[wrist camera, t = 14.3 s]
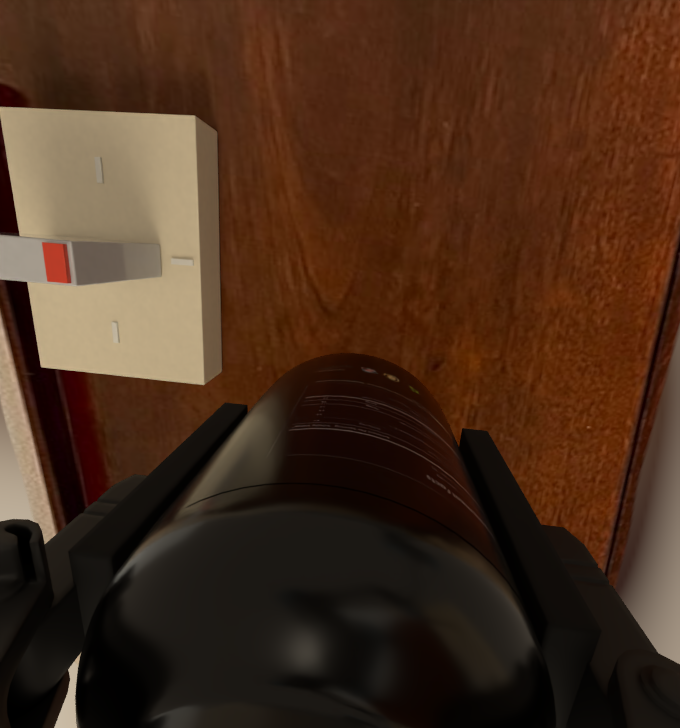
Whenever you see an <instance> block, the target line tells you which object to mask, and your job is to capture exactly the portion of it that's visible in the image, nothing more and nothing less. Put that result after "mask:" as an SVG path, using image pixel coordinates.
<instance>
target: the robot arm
mask: <svg viewBox="0 0 680 728" xmlns="http://www.w3.org/2000/svg"><path fill="white" fill-rule="evenodd" d="M246 415H247V405H241V404H232V403H224V404H223V405H222V406H221V407H220V408H219V409H218V410H217V411H216V412H215V413H214V414H213V415H212V416H211V417H210V418H208V419H207V420H206V421H205V422H204V423H203V424H202V425H201V426H200V427H199V428H198V429H197V430H196V431H195V432H194V433H193V434H192V435H190V436H189V437H188V438H187V439H186V440H185V441H184V442H183V443H182V444H181V445H180V446H179V447H178V448H177V449H176V450H175V451H174V452H172V453H171V454H170V455H169V456H168V457H167V458H166V459H165V460H164V461H163V462H162V463H161V464H160V465H159V466H158V467H157V468H156V469H155V470H153V471H152V472H151V473H150V474H149V475H148V476H144V475H136V474H135V475H133V476H131V477H129V478H127V479H125V480H123V481H121V482H119V483H117V484H115V485H113V486H112V487H111V488H110V489H109V490H108V491H106V492H105V493H104V494H103V495H102V496H101V497H99V498H98V501H97V502H94V503H92V504H91V505H90V506H89V507H88V508H87V509H85V510H84V513H83V514H80V515H79V516H77V517H76V518H75V519H74V520H73V521H72V522H70V523H69V524H68V525H67V526H66V527H65V528H63V529H62V530H61V531H60V532H59V533H58V534H56V535H55V536H54V537H53V538H52V539H51V540H49V541H48V542H47V543H46V544H45V545H44V540H43V534H42V531H41V528H40V526H39V524H38V523H35V522H33V521H30V520H21V519H12V520H6V521H1V522H0V728H54V726H55V724H56V721H57V718H58V716H59V713H60V711H61V708H62V705H63V703H64V700H65V698H66V695H67V692H68V687H69V681H70V677H69V672H68V669H69V667H70V666H71V665H72V663H73V662H74V661H75V659H76V658H77V657H78V655H79V654H80V653H81V651H82V648H83V644H84V640H85V636H86V632H87V629H88V626H89V623H90V621H91V618H92V616H93V613H94V611H95V608H96V606H97V604H98V602H99V600H100V598H101V596H102V594H103V593H104V591H105V589H106V587H107V586H108V584H109V582H110V581H111V580H112V578H113V577H114V575H115V574H116V573H117V571H118V570H119V569H120V567H121V566H122V565H123V564H124V562H125V560H126V559H127V558H128V556H129V555H130V554H131V553H132V551H133V550H134V549H135V547H136V546H137V545H138V544H139V542H140V541H141V540H142V539H143V538H144V536H145V535H146V534H147V533H148V532H149V530H150V529H151V528H152V527H153V526H154V524H155V523H156V522H157V521H158V520H159V518H160V517H161V516H162V515H163V514H164V512H165V511H166V510H167V509H168V508H169V506H170V505H171V504H172V503H173V502H174V500H175V499H176V498H177V497H178V496H179V495H180V493H181V492H182V491H183V490H184V489H185V487H186V486H187V485H188V484H189V483H190V481H191V480H192V479H193V478H194V477H195V475H196V474H197V473H198V472H199V471H200V470H201V468H202V467H203V466H204V465H205V464H206V462H207V461H208V460H209V459H210V458H211V456H212V455H213V454H214V453H215V452H216V450H217V449H218V448H219V447H220V446H221V444H222V443H223V442H224V441H225V440H226V439H227V437H228V436H229V435H230V434H231V433H232V431H233V430H234V429H235V428H236V427H237V425H238V424H239V423H240V422H241V421H242V419H243V418H244V417H245V416H246ZM459 449H460V451H461V454H462V456H463V459H464V461H465V463H466V466H467V468H468V471H469V473H470V475H471V478H472V480H473V482H474V485H475V487H476V490H477V492H478V494H479V497H480V499H481V501H482V504H483V506H484V509H485V511H486V513H487V516H488V518H489V521H490V523H491V525H492V528H493V530H494V532H495V535H496V537H497V540H498V542H499V544H500V547H501V549H502V552H503V554H504V556H505V559H506V561H507V563H508V566H509V568H510V571H511V573H512V575H513V578H514V580H515V583H516V585H517V587H518V590H519V592H520V594H521V597H522V599H523V602H524V604H525V607H526V609H527V611H528V614H529V616H530V619H531V622H532V624H533V627H534V629H535V632H536V635H537V638H538V641H539V643H540V646H541V649H542V651H543V654H544V657H545V660H546V663H547V666H548V670H549V674H550V678H551V682H552V686H553V692H554V699H555V708H556V728H680V664H677V663H676V662H674V661H672V660H670V659H668V658H666V657H664V656H662V655H660V654H658V652H657V651H656V649H655V648H654V646H653V645H652V643H651V642H650V641H649V639H648V638H647V636H646V635H645V633H644V632H643V630H642V629H641V627H640V626H639V624H638V623H637V622H636V620H635V619H634V617H633V616H632V614H631V613H630V611H629V610H628V608H627V607H626V605H625V604H624V602H623V601H622V599H621V598H620V597H619V595H618V594H617V592H616V591H615V589H614V588H613V586H611V585H609V580H608V579H607V577H606V576H605V575H604V573H603V572H602V570H601V569H600V568H598V564H597V563H596V561H595V560H594V558H593V557H592V556H591V554H590V553H589V551H588V550H587V548H586V547H585V545H584V544H583V543H581V542H580V541H579V540H578V539H577V538H576V537H574V536H573V535H572V534H571V533H570V532H569V531H567V530H566V529H565V528H563V527H555V526H547V525H541V524H540V522H539V520H538V519H537V517H536V515H535V513H534V512H533V510H532V508H531V506H530V505H529V503H528V501H527V499H526V498H525V496H524V494H523V492H522V491H521V489H520V487H519V485H518V484H517V482H516V480H515V479H514V477H513V475H512V473H511V472H510V470H509V468H508V466H507V465H506V463H505V461H504V459H503V458H502V456H501V454H500V452H499V451H498V449H497V447H496V445H495V444H494V442H493V440H492V438H491V437H490V435H489V433H488V431H482V430H473V429H464V428H462V433H461V439H460V445H459Z"/></svg>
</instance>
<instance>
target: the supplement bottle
mask: <svg viewBox="0 0 680 728" xmlns="http://www.w3.org/2000/svg"><path fill="white" fill-rule="evenodd" d="M75 697H76V698H75V699H76V722H77V728H556V708H555V699H554V692H553V686H552V682H551V678H550V674H549V670H548V666H547V663H546V660H545V657H544V654H543V651H542V649H541V646H540V643H539V641H538V638H537V635H536V632H535V629H534V627H533V624H532V622H531V619H530V616H529V614H528V611H527V609H526V607H525V604H524V602H523V599H522V597H521V594H520V592H519V590H518V587H517V585H516V583H515V580H514V578H513V575H512V573H511V571H510V568H509V566H508V563H507V561H506V559H505V556H504V554H503V552H502V549H501V547H500V544H499V542H498V540H497V537H496V535H495V532H494V530H493V528H492V525H491V523H490V521H489V518H488V516H487V513H486V511H485V509H484V506H483V504H482V501H481V499H480V497H479V494H478V492H477V490H476V487H475V485H474V482H473V480H472V478H471V475H470V473H469V471H468V468H467V466H466V463H465V461H464V459H463V456H462V454H461V451H460V449H459V447H458V444H457V442H456V440H455V437H454V435H453V432H452V430H451V428H450V425H449V423H448V421H447V419H446V417H445V415H444V413H443V411H442V409H441V407H440V405H439V404H438V402H437V401H436V399H435V398H434V396H433V395H432V394H431V393H430V391H429V390H428V389H427V388H426V387H425V386H424V385H423V384H422V383H421V382H420V381H419V380H418V379H417V378H416V377H414V376H413V375H412V374H411V373H409V372H408V371H406V370H404V369H403V368H401V367H399V366H397V365H395V364H393V363H391V362H389V361H386V360H384V359H381V358H377V357H374V356H369V355H364V354H355V353H339V354H330V355H325V356H321V357H317V358H314V359H311V360H308V361H306V362H304V363H302V364H300V365H298V366H296V367H294V368H293V369H291V370H290V371H288V372H287V373H285V374H284V375H283V376H282V377H280V378H279V379H278V380H277V381H276V382H275V383H274V384H273V385H272V386H271V387H270V388H269V389H268V390H267V391H266V393H265V394H264V395H263V396H262V397H261V398H260V399H259V400H258V402H257V403H256V404H255V405H254V406H253V408H252V409H251V410H250V411H249V412H248V414H247V415H246V416H245V417H244V418H243V419H242V421H241V422H240V423H239V424H238V425H237V427H236V428H235V429H234V430H233V431H232V433H231V434H230V435H229V436H228V437H227V439H226V440H225V441H224V442H223V443H222V444H221V446H220V447H219V448H218V449H217V450H216V452H215V453H214V454H213V455H212V456H211V458H210V459H209V460H208V461H207V462H206V464H205V465H204V466H203V467H202V468H201V470H200V471H199V472H198V473H197V474H196V475H195V477H194V478H193V479H192V480H191V481H190V483H189V484H188V485H187V486H186V487H185V489H184V490H183V491H182V492H181V493H180V495H179V496H178V497H177V498H176V499H175V500H174V502H173V503H172V504H171V505H170V506H169V508H168V509H167V510H166V511H165V512H164V514H163V515H162V516H161V517H160V518H159V520H158V521H157V522H156V523H155V524H154V526H153V527H152V528H151V529H150V530H149V532H148V533H147V534H146V535H145V536H144V538H143V539H142V540H141V541H140V542H139V544H138V545H137V546H136V547H135V549H134V550H133V551H132V553H131V554H130V555H129V556H128V558H127V559H126V560H125V562H124V564H123V565H122V566H121V567H120V569H119V570H118V571H117V573H116V574H115V575H114V577H113V578H112V580H111V581H110V582H109V584H108V586H107V587H106V589H105V591H104V593H103V594H102V596H101V598H100V600H99V602H98V604H97V606H96V608H95V611H94V613H93V616H92V618H91V621H90V623H89V626H88V629H87V632H86V636H85V640H84V644H83V648H82V652H81V656H80V661H79V667H78V674H77V684H76V696H75Z"/></svg>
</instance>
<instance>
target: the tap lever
mask: <svg viewBox="0 0 680 728" xmlns="http://www.w3.org/2000/svg"><path fill="white" fill-rule="evenodd" d="M157 277H161V260H160V245H159V244H154V243H142V242H131V241H119V240H107V239H95V238H84V237H72V236H60V235H44V234H25V233H5V232H0V279H3V280H13V281H23V282H34V283H44V284H54V285H65V286H75V287H77V286H86V285H95V284H104V283H113V282H122V281H130V280H139V279H148V278H157Z"/></svg>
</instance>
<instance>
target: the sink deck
mask: <svg viewBox="0 0 680 728" xmlns="http://www.w3.org/2000/svg"><path fill="white" fill-rule="evenodd" d="M0 118H1V124H2V130H3V136H4V142H5V148H6V154H7V161H8V167H9V173H10V179H11V185H12V191H13V197H14V204H15V210H16V216H17V222H18V228H19V233H25V234H44V235H60V236H72V237H84V238H95V239H107V240H119V241H131V242H142V243H154V244H159V245H160V260H161V277H157V278H148V279H139V280H130V281H122V282H113V283H104V284H95V285H86V286H77V287H75V286H65V285H54V284H44V283H34V282H27V283H28V290H29V296H30V302H31V308H32V314H33V320H34V326H35V333H36V339H37V345H38V351H39V357H40V363H41V367H44V368H54V369H63V370H72V371H81V372H90V373H100V374H109V375H118V376H127V377H136V378H146V379H155V380H164V381H173V382H183V383H192V384H201V385H205V384H206V383H207V382H209V381H210V380H211V379H213V378H214V377H215V376H217V375H218V374H220V373H221V372H222V350H221V299H220V248H219V197H218V146H217V131H216V130H214V129H213V128H212V127H210V126H209V125H207V124H206V123H205V122H203V121H202V120H200V119H199V118H198V117H196V116H195V115H174V114H152V113H129V112H107V111H84V110H62V109H39V108H17V107H0Z"/></svg>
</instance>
